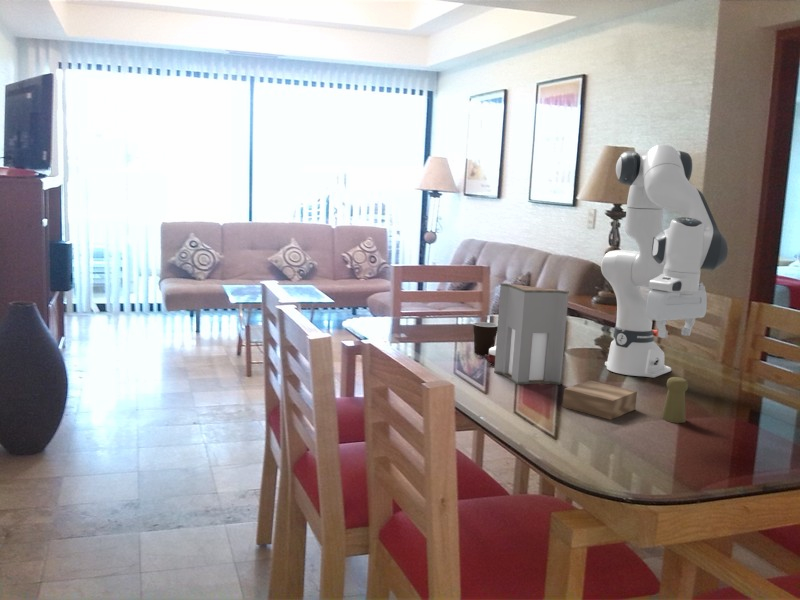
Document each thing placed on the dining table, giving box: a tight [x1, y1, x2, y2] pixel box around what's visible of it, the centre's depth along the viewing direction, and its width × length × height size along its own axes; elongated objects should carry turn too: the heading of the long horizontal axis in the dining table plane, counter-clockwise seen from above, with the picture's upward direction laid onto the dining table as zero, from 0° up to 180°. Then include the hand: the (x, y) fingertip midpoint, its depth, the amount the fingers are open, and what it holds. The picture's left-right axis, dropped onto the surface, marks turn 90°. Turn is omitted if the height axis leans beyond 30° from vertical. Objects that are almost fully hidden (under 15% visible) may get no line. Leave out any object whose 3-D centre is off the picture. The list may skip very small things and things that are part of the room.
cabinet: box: [493, 282, 570, 386], centre depth 227 cm, size 21×10×28 cm, turn 59°
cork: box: [660, 376, 689, 424], centre depth 197 cm, size 6×6×11 cm
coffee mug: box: [472, 321, 498, 356], centre depth 264 cm, size 12×9×10 cm
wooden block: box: [562, 380, 638, 421], centre depth 204 cm, size 14×14×5 cm
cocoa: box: [485, 345, 496, 366], centre depth 247 cm, size 10×6×12 cm, turn 96°
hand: (674, 336), depth 194 cm, fingers open, 8 cm apart
